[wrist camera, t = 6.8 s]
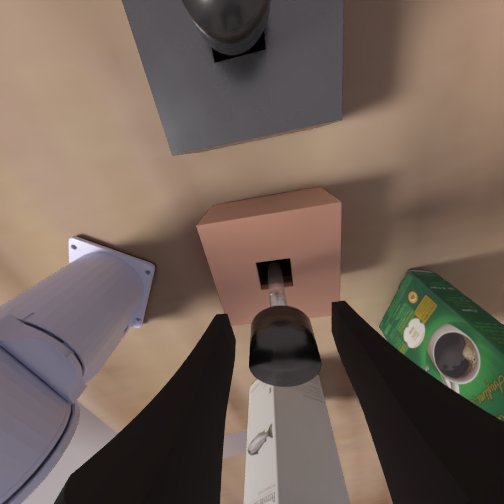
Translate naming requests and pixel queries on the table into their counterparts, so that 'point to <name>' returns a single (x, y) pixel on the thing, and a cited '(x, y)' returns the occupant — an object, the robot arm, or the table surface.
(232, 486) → the table surface
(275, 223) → the pot
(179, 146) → the pot
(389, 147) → the table surface
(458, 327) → the coffee box
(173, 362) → the table surface
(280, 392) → the supplement box
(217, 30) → the plunger
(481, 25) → the table surface
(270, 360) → the plunger
